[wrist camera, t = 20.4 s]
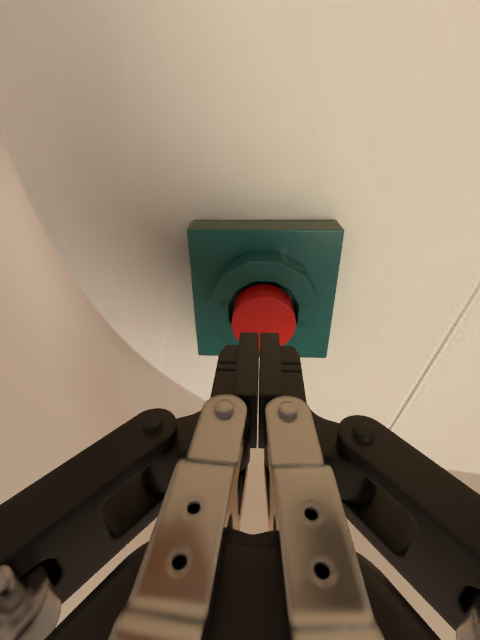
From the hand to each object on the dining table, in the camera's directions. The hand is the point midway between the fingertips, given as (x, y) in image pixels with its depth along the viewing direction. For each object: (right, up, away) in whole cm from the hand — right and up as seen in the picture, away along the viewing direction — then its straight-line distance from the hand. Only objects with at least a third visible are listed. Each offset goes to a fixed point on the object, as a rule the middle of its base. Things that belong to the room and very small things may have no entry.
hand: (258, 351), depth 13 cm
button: (+1, +2, +7) cm, 7 cm away
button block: (+1, +4, +10) cm, 11 cm away
